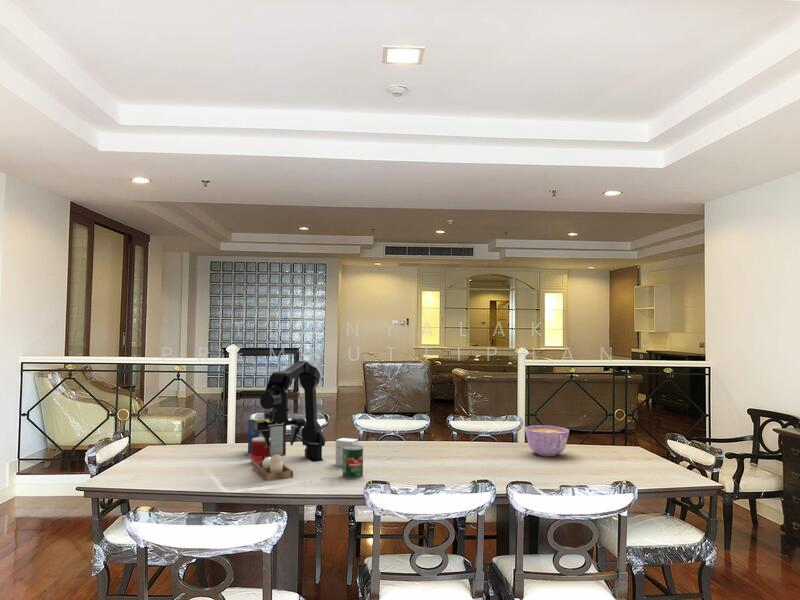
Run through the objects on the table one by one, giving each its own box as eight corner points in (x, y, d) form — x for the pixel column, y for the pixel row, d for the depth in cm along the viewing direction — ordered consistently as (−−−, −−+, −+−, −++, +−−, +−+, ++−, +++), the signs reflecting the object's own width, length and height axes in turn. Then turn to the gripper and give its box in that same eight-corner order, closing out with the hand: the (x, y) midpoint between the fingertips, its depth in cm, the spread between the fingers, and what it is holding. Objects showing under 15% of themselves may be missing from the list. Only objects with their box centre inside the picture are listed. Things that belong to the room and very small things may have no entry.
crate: (277, 468, 224) (277, 459, 224) (292, 480, 207) (292, 471, 207) (252, 471, 219) (253, 462, 219) (266, 483, 202) (267, 474, 202)
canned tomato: (352, 472, 220) (352, 444, 220) (367, 475, 215) (367, 447, 215) (338, 476, 214) (338, 447, 214) (352, 480, 209) (353, 450, 209)
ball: (273, 467, 221) (273, 455, 221) (276, 470, 216) (277, 457, 217) (260, 469, 218) (260, 456, 219) (264, 472, 214) (264, 459, 214)
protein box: (267, 449, 259) (267, 416, 260) (286, 455, 249) (286, 420, 250) (247, 453, 252) (248, 418, 253) (265, 458, 241) (266, 422, 242)
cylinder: (280, 473, 212) (280, 452, 212) (283, 476, 208) (284, 455, 208) (268, 475, 210) (268, 453, 210) (271, 477, 206) (272, 456, 206)
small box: (358, 464, 232) (358, 439, 233) (351, 467, 227) (352, 441, 228) (341, 462, 236) (342, 437, 236) (335, 465, 231) (335, 439, 231)
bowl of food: (575, 459, 245) (574, 433, 246) (529, 459, 246) (529, 432, 246) (562, 450, 265) (562, 425, 266) (520, 449, 266) (520, 425, 266)
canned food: (265, 468, 224) (266, 440, 225) (247, 467, 226) (248, 439, 227) (273, 464, 232) (274, 437, 233) (256, 462, 234) (256, 436, 234)
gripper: (297, 400, 224) (296, 440, 223) (250, 404, 215) (249, 444, 214) (306, 404, 214) (305, 445, 213) (258, 408, 205) (257, 450, 204)
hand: (279, 446), depth 212 cm, fingers open, 9 cm apart
